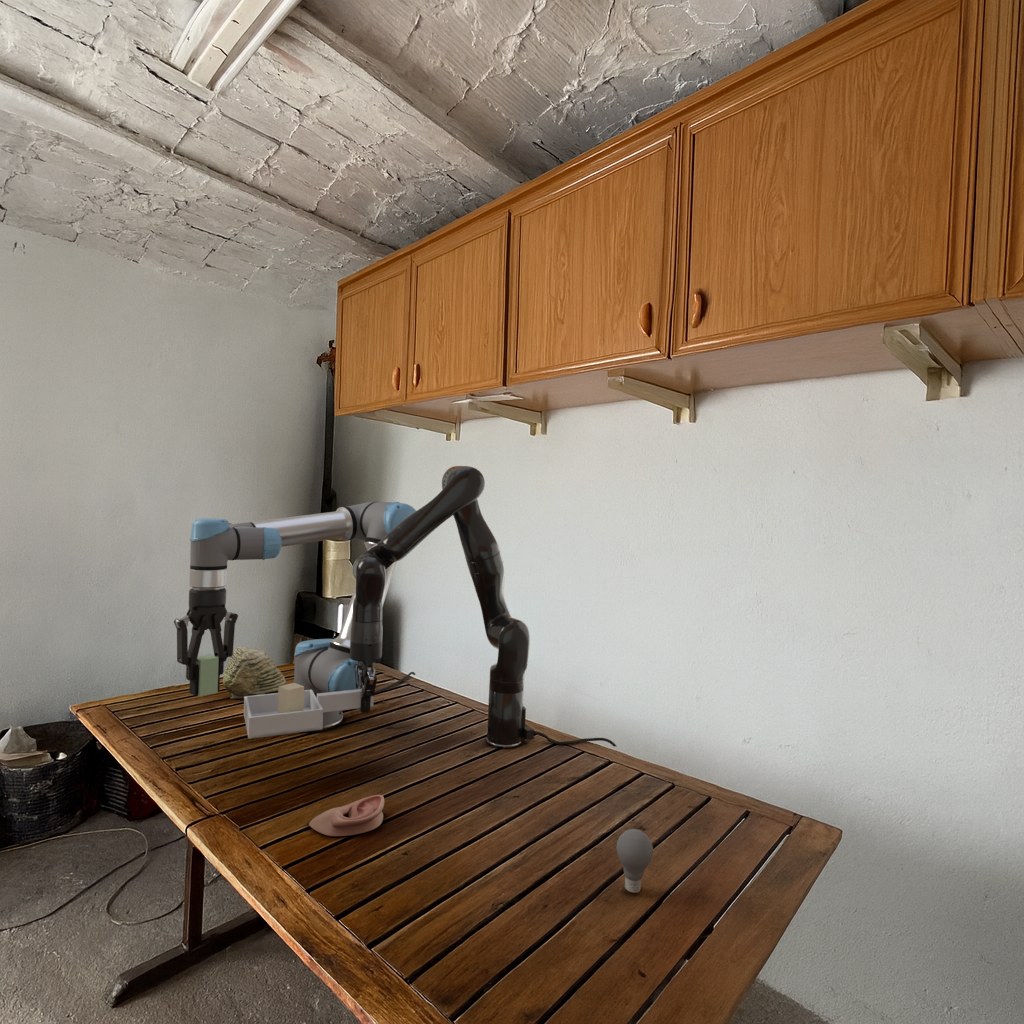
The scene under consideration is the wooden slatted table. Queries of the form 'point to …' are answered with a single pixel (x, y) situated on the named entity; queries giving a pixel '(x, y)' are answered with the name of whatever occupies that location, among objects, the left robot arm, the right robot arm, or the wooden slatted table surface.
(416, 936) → the wooden slatted table surface
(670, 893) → the wooden slatted table surface
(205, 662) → the block
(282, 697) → the block
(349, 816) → the anatomical model
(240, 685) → the fossil
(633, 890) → the light bulb
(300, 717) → the tray
